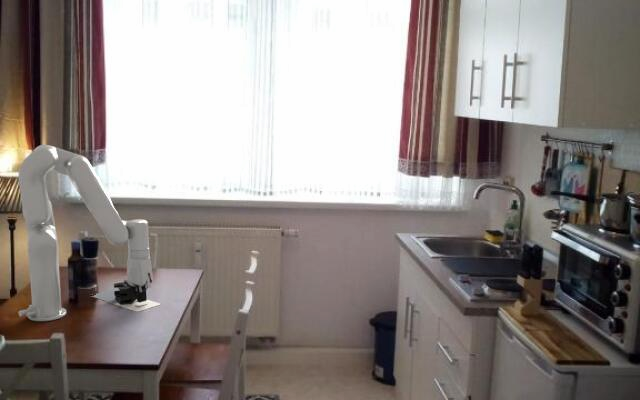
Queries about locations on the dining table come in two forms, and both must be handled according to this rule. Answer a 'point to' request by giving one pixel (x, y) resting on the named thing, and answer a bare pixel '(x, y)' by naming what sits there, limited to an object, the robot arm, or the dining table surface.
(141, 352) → the dining table surface
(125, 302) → the end cap
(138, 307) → the board
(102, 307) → the dining table surface
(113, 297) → the mat
